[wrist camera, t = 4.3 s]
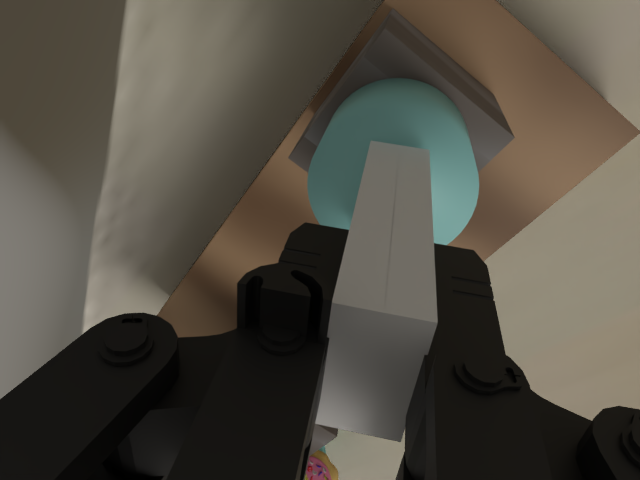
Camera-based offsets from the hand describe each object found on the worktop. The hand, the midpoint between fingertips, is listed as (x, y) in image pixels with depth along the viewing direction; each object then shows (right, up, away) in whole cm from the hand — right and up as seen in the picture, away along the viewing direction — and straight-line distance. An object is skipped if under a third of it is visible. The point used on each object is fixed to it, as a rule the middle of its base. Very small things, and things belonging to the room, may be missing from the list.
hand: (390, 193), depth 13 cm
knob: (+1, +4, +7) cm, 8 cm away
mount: (0, 0, +15) cm, 15 cm away
